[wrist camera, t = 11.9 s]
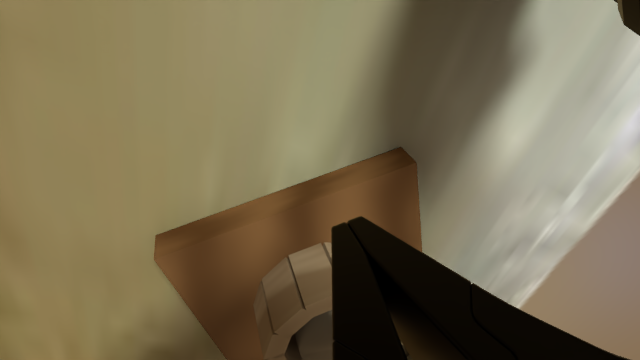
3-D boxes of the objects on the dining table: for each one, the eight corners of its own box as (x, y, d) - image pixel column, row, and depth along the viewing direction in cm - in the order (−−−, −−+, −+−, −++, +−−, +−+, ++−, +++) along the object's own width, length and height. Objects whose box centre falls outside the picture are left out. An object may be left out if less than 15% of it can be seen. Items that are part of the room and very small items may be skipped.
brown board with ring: (401, 146, 24) (454, 201, 20) (414, 293, 34) (452, 354, 29) (155, 235, 22) (149, 319, 18) (243, 364, 32) (254, 440, 27)
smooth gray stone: (346, 254, 25) (370, 302, 22) (358, 297, 28) (380, 344, 25) (276, 283, 25) (290, 336, 22) (296, 323, 28) (310, 375, 25)
